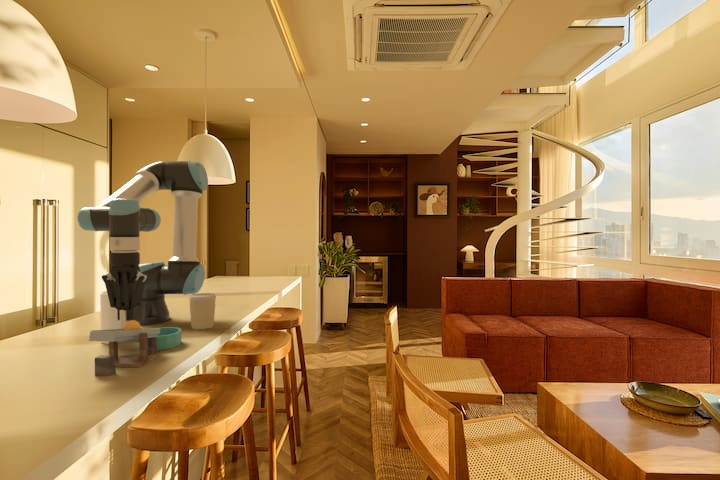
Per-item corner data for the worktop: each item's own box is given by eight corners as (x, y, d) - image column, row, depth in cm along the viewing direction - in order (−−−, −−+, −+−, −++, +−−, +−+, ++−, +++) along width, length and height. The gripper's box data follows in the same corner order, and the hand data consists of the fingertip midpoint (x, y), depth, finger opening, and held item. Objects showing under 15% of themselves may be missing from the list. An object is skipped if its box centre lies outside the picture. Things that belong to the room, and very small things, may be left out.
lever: (123, 339, 112) (124, 327, 113) (159, 340, 111) (160, 328, 112) (69, 344, 93) (71, 329, 94) (112, 345, 92) (114, 330, 93)
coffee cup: (207, 322, 147) (206, 292, 147) (221, 326, 142) (220, 294, 141) (184, 327, 140) (184, 295, 139) (198, 331, 134) (197, 298, 134)
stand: (132, 350, 113) (132, 324, 112) (167, 351, 112) (167, 325, 112) (81, 374, 94) (81, 343, 94) (123, 376, 93) (123, 344, 93)
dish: (156, 339, 124) (155, 326, 124) (187, 340, 123) (187, 327, 123) (133, 349, 113) (133, 336, 113) (168, 350, 112) (168, 337, 112)
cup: (136, 336, 127) (135, 290, 126) (118, 344, 118) (117, 294, 118) (113, 336, 127) (113, 289, 127) (94, 343, 119) (93, 293, 119)
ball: (129, 317, 106) (119, 323, 102) (142, 318, 106) (133, 324, 102) (131, 330, 107) (121, 337, 103) (144, 331, 106) (135, 337, 103)
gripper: (93, 252, 106) (94, 334, 107) (137, 252, 105) (138, 335, 106) (112, 250, 114) (113, 327, 114) (154, 251, 113) (154, 328, 113)
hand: (125, 331), depth 110 cm, fingers closed
